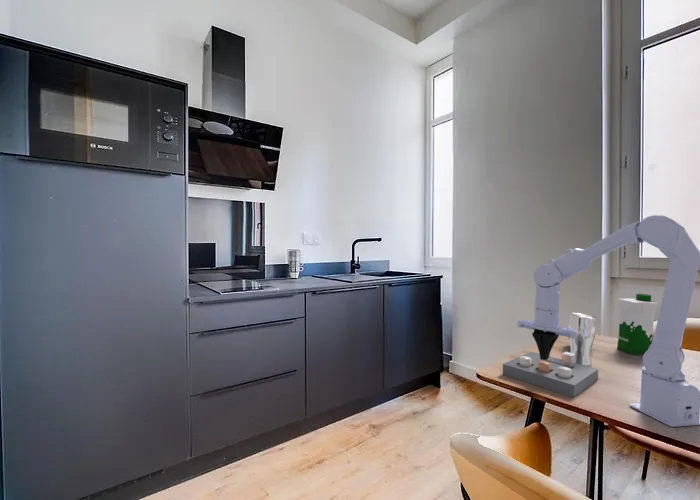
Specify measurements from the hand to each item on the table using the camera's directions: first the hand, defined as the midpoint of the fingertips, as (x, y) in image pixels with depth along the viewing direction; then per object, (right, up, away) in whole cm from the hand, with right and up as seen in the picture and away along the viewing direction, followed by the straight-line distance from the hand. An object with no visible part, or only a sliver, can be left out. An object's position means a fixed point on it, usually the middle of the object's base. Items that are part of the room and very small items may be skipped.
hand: (544, 358), depth 97 cm
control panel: (+3, -6, +3) cm, 7 cm away
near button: (+3, -5, -4) cm, 7 cm away
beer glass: (+19, -6, +15) cm, 25 cm away
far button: (-3, -4, +4) cm, 7 cm away
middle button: (0, -5, 0) cm, 5 cm away
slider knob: (+8, -3, +3) cm, 9 cm away
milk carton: (+46, -6, +28) cm, 54 cm away
